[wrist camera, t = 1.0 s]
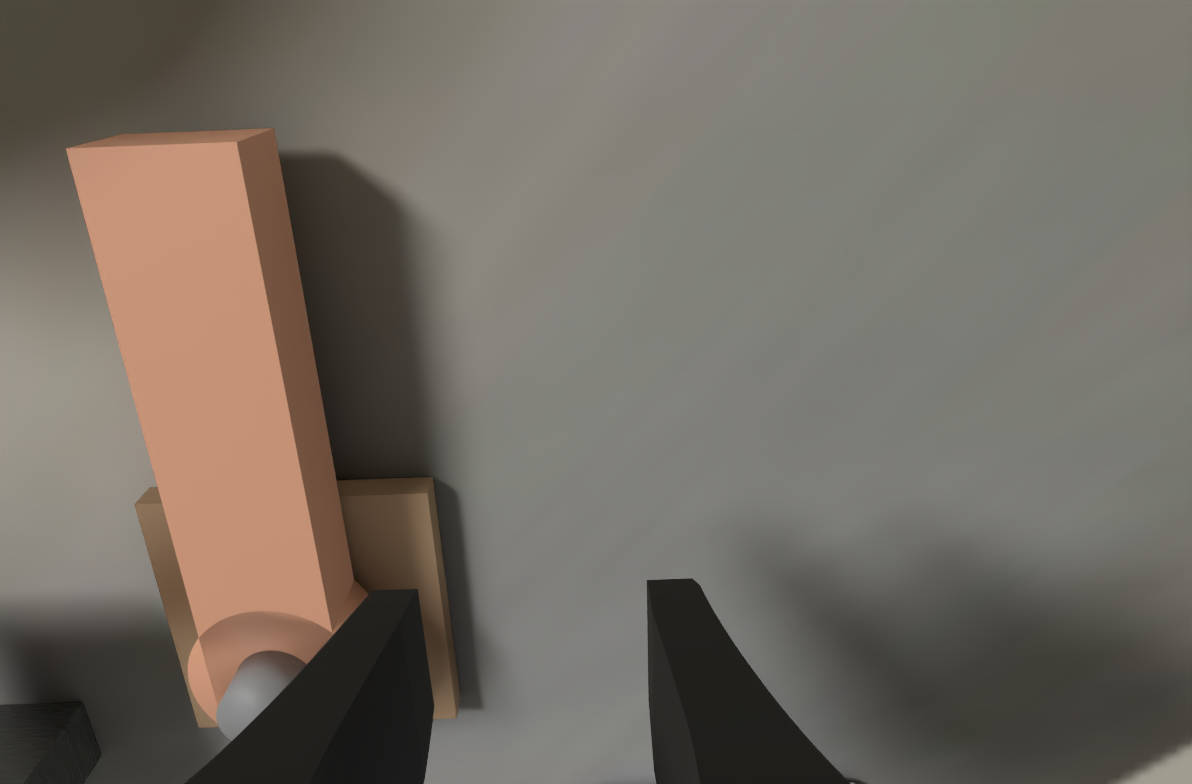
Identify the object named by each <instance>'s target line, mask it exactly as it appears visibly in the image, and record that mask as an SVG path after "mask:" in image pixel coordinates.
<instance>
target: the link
mask: <svg viewBox="0 0 1192 784" xmlns="http://www.w3.org/2000/svg"><path fill="white" fill-rule="evenodd" d="M66 152H67V155H68V159H69V163H70V166H71V170H72V174H73V177H74V181H75V185H76V188H77V192H78V196H79V199H80V203H81V207H82V211H83V214H84V218H85V222H86V225H87V229H88V233H89V236H90V240H91V244H92V247H93V251H94V255H95V258H96V262H97V266H98V269H99V273H100V277H101V280H102V284H103V288H104V291H105V295H106V299H107V302H108V306H109V310H110V313H111V317H112V321H113V324H114V328H115V332H116V336H117V339H118V343H119V347H120V350H121V354H122V358H123V361H124V365H125V369H126V372H127V376H128V380H129V383H130V387H131V391H132V394H133V398H134V402H135V405H136V409H137V413H138V416H139V420H140V424H141V427H142V431H143V435H144V438H145V442H146V446H147V449H148V453H149V457H150V460H151V464H152V468H153V472H154V475H155V479H156V483H157V486H158V490H159V494H160V497H161V501H162V505H163V508H164V512H165V516H166V519H167V523H168V527H169V530H170V534H171V538H172V541H173V545H174V549H175V552H176V556H177V560H178V563H179V567H180V571H181V574H182V578H183V582H184V585H185V589H186V593H187V597H188V600H189V604H190V608H191V611H192V615H193V619H194V622H195V626H196V630H197V633H198V637H199V638H198V639H197V641H196V643H195V645H194V646H193V648H192V650H191V653H190V656H189V661H188V679H189V684H190V687H191V690H192V693H193V695H194V697H195V698H196V700H197V702H198V703H199V705H200V706H201V708H202V709H203V710H204V711H205V712H206V713H207V715H208V716H209V717H210V718H211V719H213V720H214V721H215V722H216V723H217V724H218V726H219V728H220V730H221V731H222V733H223V734H224V735H225V736H226V737H227V738H228V739H229V740H230V741H232V740H233V739H234V738H235V737H236V736H237V735H238V734H239V733H241V732H242V731H243V730H244V729H245V728H246V727H247V726H248V725H249V724H250V723H251V722H252V721H253V720H254V719H255V718H256V717H257V716H258V715H259V714H260V713H261V712H262V711H263V710H264V709H265V708H266V707H267V706H268V705H269V704H270V703H271V702H272V701H273V700H274V699H275V698H276V697H277V696H278V695H279V694H280V692H281V691H282V690H283V689H284V688H285V687H286V686H287V685H288V684H289V683H290V682H291V681H292V680H293V678H294V677H295V676H296V675H297V674H298V673H299V672H300V671H301V670H302V669H303V668H304V667H305V666H306V664H307V663H308V662H309V661H310V660H311V659H312V658H313V657H314V656H315V655H316V653H317V652H318V651H319V650H320V649H321V648H322V647H323V646H324V644H325V643H326V642H327V641H328V640H329V639H330V638H331V637H332V635H333V634H334V633H335V632H336V631H337V630H338V629H339V627H340V626H341V625H342V624H343V623H344V622H345V621H346V619H347V618H348V617H349V616H350V615H351V614H352V612H353V611H354V610H355V609H356V608H357V607H358V606H359V605H360V603H361V602H362V601H363V600H364V599H365V598H366V597H367V596H368V595H369V594H368V593H367V592H366V590H365V589H364V588H363V587H362V586H361V585H360V584H359V583H357V582H356V581H355V580H354V577H353V571H352V566H351V560H350V554H349V549H348V543H347V537H346V532H345V526H344V520H343V515H342V509H341V504H340V498H339V492H338V487H337V481H336V475H335V470H334V464H333V458H332V453H331V447H330V441H329V436H328V430H327V425H326V419H325V413H324V408H323V402H322V396H321V391H320V385H319V379H318V374H317V368H316V362H315V357H314V351H313V346H312V340H311V334H310V329H309V323H308V317H307V312H306V306H305V300H304V295H303V289H302V283H301V278H300V272H299V266H298V261H297V255H296V250H295V244H294V238H293V233H292V227H291V221H290V216H289V210H288V204H287V199H286V193H285V187H284V182H283V176H282V171H281V165H280V159H279V154H278V148H277V142H276V137H275V131H274V128H267V129H241V130H215V131H189V132H163V133H138V134H120V135H116V136H112V137H108V138H104V139H101V140H97V141H93V142H89V143H85V144H81V145H77V146H73V147H70V148H66Z"/></svg>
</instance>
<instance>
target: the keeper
mask: <svg viewBox="0 0 1192 784" xmlns="http://www.w3.org/2000/svg"><path fill="white" fill-rule="evenodd" d="M100 757H101V754H100V751H99V749H98V746H97V743H96V740H95V737H94V734H93V731H92V729H91V726H90V723H89V720H88V717H87V714H86V712H85V709H84V706H83V703H82V702H81V703H54V704H27V705H0V784H84V782H85V780H86V779H87V777H88V776H89V774H90V773H91V771H92V770H93V768H94V767H95V765H96V764H97V762H98V760H99V759H100Z"/></svg>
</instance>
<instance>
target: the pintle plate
mask: <svg viewBox="0 0 1192 784" xmlns="http://www.w3.org/2000/svg"><path fill="white" fill-rule="evenodd" d="M337 487H338V492H339V498H340V504H341V509H342V515H343V520H344V526H345V532H346V537H347V543H348V549H349V554H350V560H351V566H352V571H353V577H354V580H355V581H356V582H357V583H359V584H360V585H361V586H362V587H363V588H364V589H365V590H366V592H367V593H368V594H370V593H371V592H372V591H373V590H398V589H418V595H419V602H420V609H421V616H422V623H423V630H424V637H425V644H426V651H427V658H428V665H429V672H430V679H431V686H432V693H433V700H434V714H433V719H449V718H457V714H458V708H459V703H460V689H459V681H458V673H457V665H456V657H455V649H454V641H453V633H452V625H451V618H450V610H449V602H448V594H447V586H446V578H445V570H444V562H443V554H442V546H441V538H440V530H439V523H438V515H437V507H436V499H435V491H434V483H433V477H418V478H391V479H364V480H338V481H337ZM135 508H136V511H137V515H138V518H139V522H140V525H141V529H142V532H143V536H144V539H145V543H146V546H147V550H148V553H149V557H150V560H151V564H152V567H153V571H154V574H155V578H156V581H157V585H158V588H159V592H160V595H161V599H162V602H163V606H164V609H165V613H166V616H167V619H168V623H169V626H170V630H171V633H172V637H173V640H174V644H175V647H176V651H177V654H178V658H179V661H180V665H181V668H182V672H183V675H184V679H185V682H186V686H187V689H188V693H189V696H190V700H191V703H192V707H193V710H194V714H195V717H196V721H197V724H198V728H204V727H219V726H218V724H217V723H216V722H215V721H214V720H213V719H211V718H210V717H209V716H208V715H207V713H206V712H205V711H204V710H203V709H202V708H201V706H200V705H199V703H198V702H197V700H196V698H195V697H194V695H193V693H192V690H191V687H190V684H189V679H188V661H189V656H190V653H191V650H192V648H193V646H194V645H195V643H196V641H197V639H198V638H199V637H198V633H197V630H196V626H195V622H194V619H193V615H192V611H191V608H190V604H189V600H188V597H187V593H186V589H185V585H184V582H183V578H182V574H181V571H180V567H179V563H178V560H177V556H176V552H175V549H174V545H173V541H172V538H171V534H170V530H169V527H168V523H167V519H166V516H165V512H164V508H163V505H162V501H161V497H160V494H159V490H158V487H151V488H149V489H148V490H147V491H146V492H145V493H144V494H143V496H142V497H141V498H140V499H139V500H138V501H137V502H136V503H135Z"/></svg>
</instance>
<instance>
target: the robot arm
mask: <svg viewBox="0 0 1192 784" xmlns="http://www.w3.org/2000/svg"><path fill="white" fill-rule="evenodd" d="M647 617H648V685H649V709H650V723H651V736H652V749H653V761H654V772H655V777H656V783H657V784H855V783H851V782H849V781H848V780H847V779H846V778H845V777H844V776H843V775H842V774H841V773H840V772H839V771H838V770H837V769H836V768H835V767H834V766H833V765H832V764H831V763H830V762H829V761H828V760H827V759H826V758H825V757H824V756H823V755H822V754H821V752H820V751H819V750H818V749H817V748H816V747H815V746H814V745H813V744H812V742H811V741H810V740H809V739H808V738H807V737H806V736H805V735H804V734H803V732H802V731H801V730H800V729H799V728H798V726H797V725H796V724H795V723H794V722H793V720H792V719H791V718H790V717H789V716H788V715H787V713H786V712H785V711H784V710H783V709H782V707H781V706H780V705H779V704H778V702H777V701H776V700H775V699H774V697H773V696H772V695H771V694H770V692H769V691H768V690H767V688H766V687H765V686H764V684H763V683H762V682H761V680H760V679H759V678H758V676H757V675H756V674H755V672H754V671H753V669H752V668H751V667H750V665H749V664H748V663H747V661H746V660H745V659H744V657H743V656H742V654H741V653H740V651H739V650H738V649H737V647H736V646H735V644H734V643H733V641H732V640H731V638H730V637H729V635H728V633H727V632H726V630H725V629H724V627H723V626H722V624H721V623H720V621H719V619H718V618H717V616H716V614H715V613H714V611H713V609H712V607H711V606H710V604H709V602H708V600H707V598H706V596H705V595H704V593H703V591H702V588H701V586H700V585H699V584H698V583H697V582H696V581H694V580H693V579H667V580H647ZM433 714H434V700H433V693H432V686H431V679H430V672H429V665H428V658H427V651H426V644H425V637H424V630H423V623H422V616H421V609H420V602H419V595H418V589H398V590H373V591H372V592H371V593H370V594H369V595H368V596H367V597H366V598H365V599H364V600H363V601H362V602H361V603H360V605H359V606H358V607H357V608H356V609H355V610H354V611H353V612H352V614H351V615H350V616H349V617H348V618H347V619H346V621H345V622H344V623H343V624H342V625H341V626H340V627H339V629H338V630H337V631H336V632H335V633H334V634H333V635H332V637H331V638H330V639H329V640H328V641H327V642H326V643H325V644H324V646H323V647H322V648H321V649H320V650H319V651H318V652H317V653H316V655H315V656H314V657H313V658H312V659H311V660H310V661H309V662H308V663H307V664H306V666H305V667H304V668H303V669H302V670H301V671H300V672H299V673H298V674H297V675H296V676H295V677H294V678H293V680H292V681H291V682H290V683H289V684H288V685H287V686H286V687H285V688H284V689H283V690H282V691H281V692H280V694H279V695H278V696H277V697H276V698H275V699H274V700H273V701H272V702H271V703H270V704H269V705H268V706H267V707H266V708H265V709H264V710H263V711H262V712H261V713H260V714H259V715H258V716H257V717H256V718H255V719H254V720H253V721H252V722H251V723H250V724H249V725H248V726H247V727H246V728H245V729H244V730H243V731H242V732H241V733H239V734H238V735H237V736H236V737H235V738H234V739H233V740H232V741H231V742H230V743H229V744H228V745H227V746H226V747H225V748H224V749H223V750H222V751H221V752H220V753H219V754H218V755H217V756H216V757H214V758H213V759H212V760H211V761H210V762H209V763H208V764H207V765H206V766H204V767H203V768H202V769H201V770H200V771H199V772H198V773H196V774H195V775H194V776H193V777H192V778H191V779H189V780H188V781H187V782H186V783H185V784H423V783H424V779H425V772H426V766H427V759H428V752H429V745H430V737H431V729H432V722H433Z"/></svg>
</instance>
